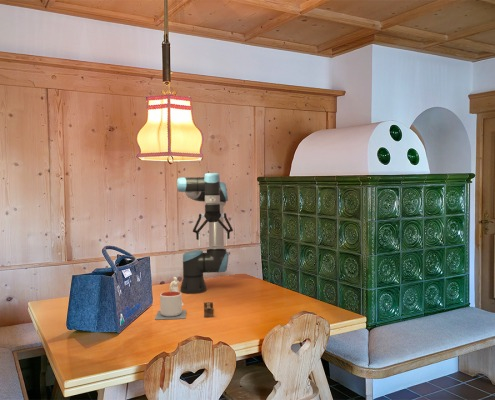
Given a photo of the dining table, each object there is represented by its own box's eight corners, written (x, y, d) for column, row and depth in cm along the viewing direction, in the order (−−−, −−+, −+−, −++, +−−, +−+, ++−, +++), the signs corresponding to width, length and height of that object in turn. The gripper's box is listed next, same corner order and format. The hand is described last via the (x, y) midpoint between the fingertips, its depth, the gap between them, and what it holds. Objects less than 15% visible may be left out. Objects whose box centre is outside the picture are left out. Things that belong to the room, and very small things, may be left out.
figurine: (169, 307, 244) (168, 278, 243) (164, 303, 252) (164, 275, 251) (185, 305, 247) (185, 276, 246) (181, 301, 255) (180, 273, 255)
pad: (157, 311, 236) (157, 311, 236) (186, 310, 238) (186, 309, 238) (155, 320, 222) (154, 319, 222) (185, 318, 224) (185, 318, 224)
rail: (204, 310, 237) (203, 302, 237) (212, 310, 238) (212, 302, 238) (204, 317, 225) (204, 309, 225) (213, 317, 226) (213, 308, 226)
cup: (156, 314, 230) (155, 294, 229) (173, 310, 237) (172, 290, 236) (169, 318, 223) (168, 297, 222) (185, 314, 230) (185, 293, 230)
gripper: (187, 204, 236) (188, 247, 237) (237, 203, 238) (238, 246, 239) (187, 203, 243) (188, 245, 244) (236, 202, 245) (237, 244, 246)
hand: (213, 245), depth 242 cm, fingers open, 13 cm apart
